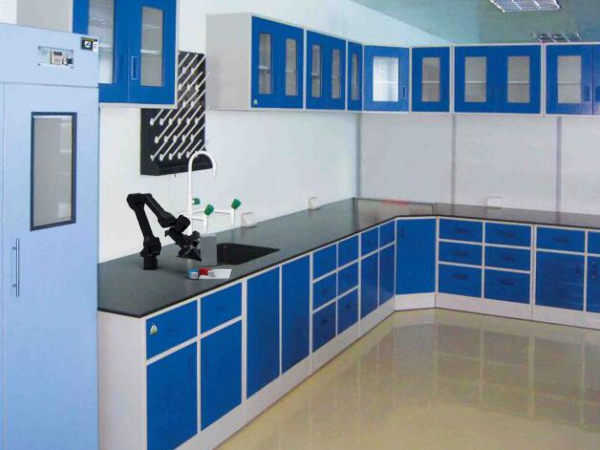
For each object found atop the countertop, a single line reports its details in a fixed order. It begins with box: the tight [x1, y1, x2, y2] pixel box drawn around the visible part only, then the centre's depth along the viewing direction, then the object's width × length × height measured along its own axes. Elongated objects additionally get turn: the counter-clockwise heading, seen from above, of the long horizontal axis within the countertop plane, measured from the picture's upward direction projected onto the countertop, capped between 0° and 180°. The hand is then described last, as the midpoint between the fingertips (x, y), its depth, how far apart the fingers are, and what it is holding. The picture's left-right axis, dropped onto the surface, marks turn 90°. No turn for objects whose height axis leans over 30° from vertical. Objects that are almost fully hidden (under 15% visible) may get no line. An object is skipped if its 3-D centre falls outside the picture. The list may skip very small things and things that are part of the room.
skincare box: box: [199, 233, 218, 267], centre depth 390 cm, size 8×7×16 cm
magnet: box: [188, 267, 214, 280], centre depth 363 cm, size 12×3×10 cm
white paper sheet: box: [198, 268, 233, 280], centre depth 370 cm, size 14×20×1 cm
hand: (201, 260), depth 368 cm, fingers closed
